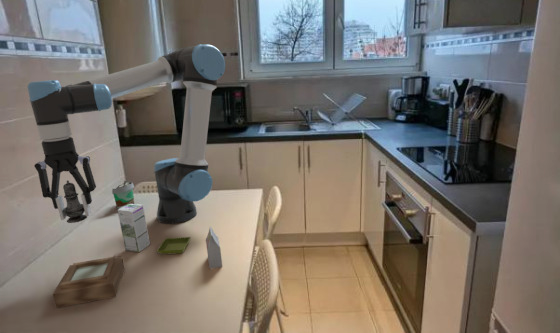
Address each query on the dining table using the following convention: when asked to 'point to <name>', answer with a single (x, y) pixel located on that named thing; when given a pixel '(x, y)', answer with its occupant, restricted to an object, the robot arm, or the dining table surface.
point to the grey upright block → (213, 250)
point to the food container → (124, 194)
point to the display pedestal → (89, 281)
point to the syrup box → (133, 227)
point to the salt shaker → (73, 204)
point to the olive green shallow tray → (173, 245)
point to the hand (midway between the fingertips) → (76, 216)
